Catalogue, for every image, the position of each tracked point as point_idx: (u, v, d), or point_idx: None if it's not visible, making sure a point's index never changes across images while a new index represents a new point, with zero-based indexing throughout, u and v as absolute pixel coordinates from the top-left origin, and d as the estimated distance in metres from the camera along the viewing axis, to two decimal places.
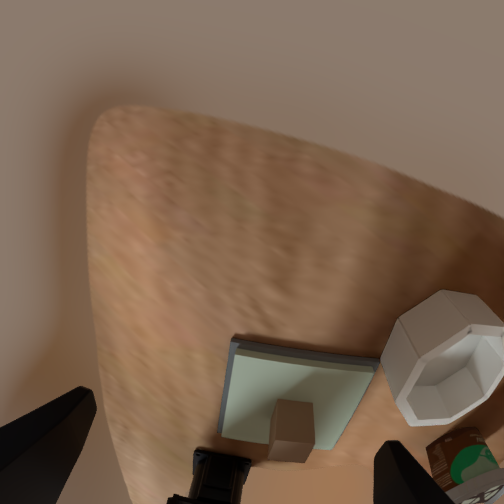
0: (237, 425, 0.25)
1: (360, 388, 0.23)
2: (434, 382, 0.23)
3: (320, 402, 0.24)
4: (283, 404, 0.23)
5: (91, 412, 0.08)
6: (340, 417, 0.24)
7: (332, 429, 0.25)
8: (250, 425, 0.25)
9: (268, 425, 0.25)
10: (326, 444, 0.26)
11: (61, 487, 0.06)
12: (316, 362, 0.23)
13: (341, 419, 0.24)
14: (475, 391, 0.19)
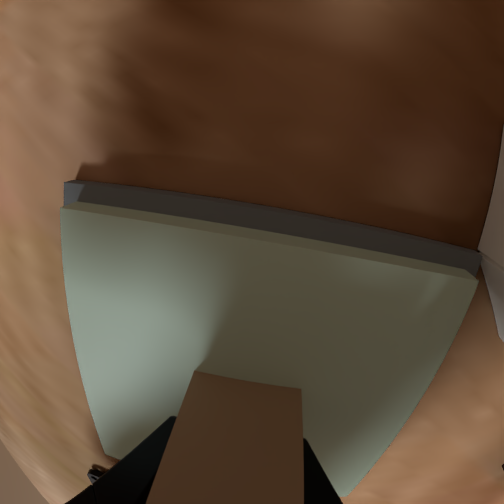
0: (123, 434, 0.10)
1: (439, 336, 0.07)
2: None
3: (324, 387, 0.08)
4: (208, 388, 0.08)
5: None
6: (376, 430, 0.09)
7: (353, 458, 0.09)
8: None
9: None
10: (336, 487, 0.10)
11: None
12: (305, 241, 0.07)
13: (378, 434, 0.09)
14: None
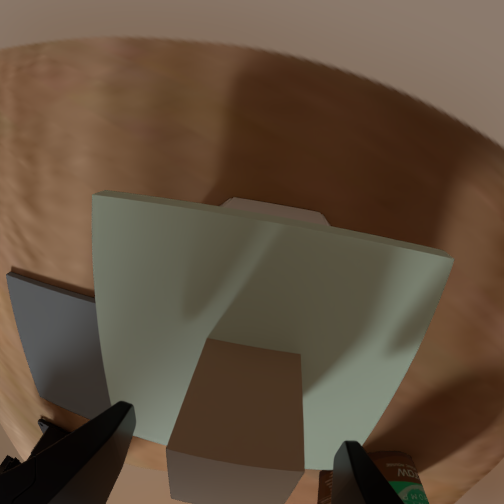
0: (137, 407, 0.11)
1: (421, 308, 0.09)
2: None
3: (320, 353, 0.10)
4: (219, 352, 0.09)
5: (131, 426, 0.08)
6: (368, 398, 0.10)
7: (348, 427, 0.11)
8: (162, 410, 0.11)
9: None
10: None
11: None
12: (303, 223, 0.09)
13: (371, 402, 0.10)
14: None
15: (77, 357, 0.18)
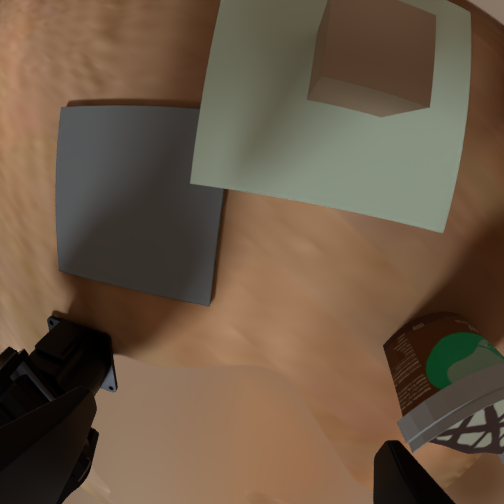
0: (230, 126, 0.11)
1: (461, 36, 0.09)
2: None
3: None
4: None
5: (91, 412, 0.08)
6: (449, 110, 0.10)
7: (440, 149, 0.11)
8: (261, 124, 0.11)
9: (302, 118, 0.11)
10: (432, 205, 0.12)
11: (61, 487, 0.06)
12: None
13: (452, 115, 0.10)
14: None
15: (125, 184, 0.18)
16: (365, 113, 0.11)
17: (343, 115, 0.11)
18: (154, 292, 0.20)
